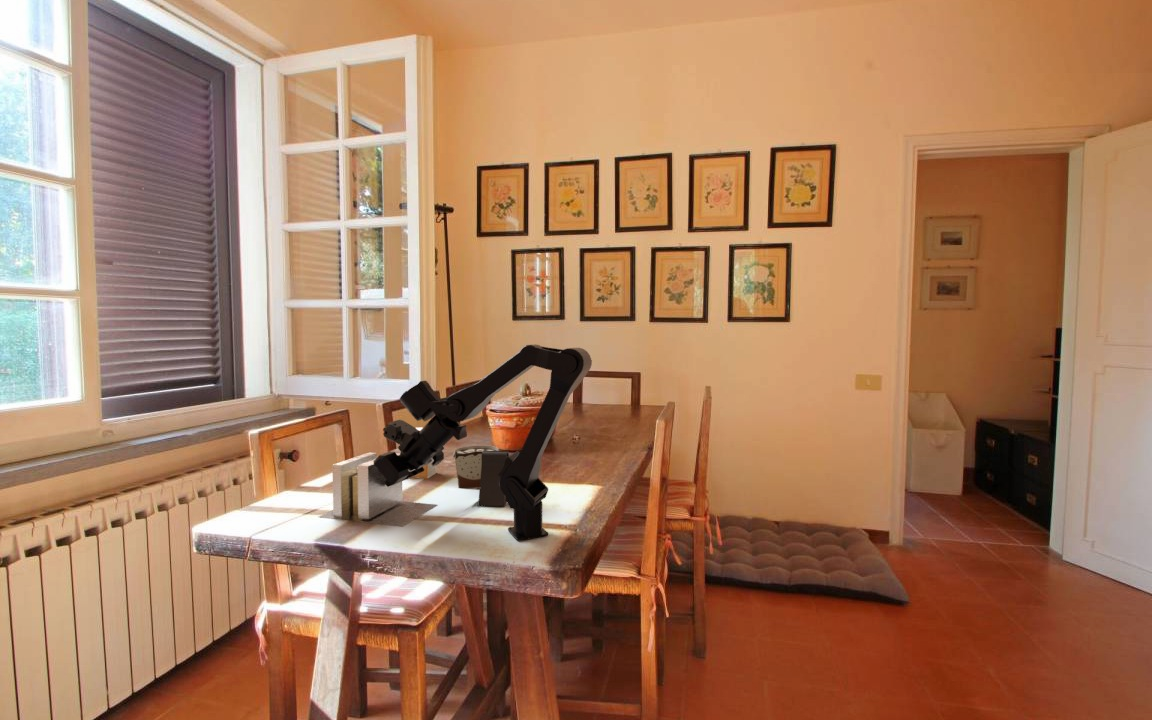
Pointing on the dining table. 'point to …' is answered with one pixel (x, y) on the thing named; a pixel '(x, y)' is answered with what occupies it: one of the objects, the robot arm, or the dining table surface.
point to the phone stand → (492, 479)
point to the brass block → (355, 494)
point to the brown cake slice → (470, 465)
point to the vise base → (390, 514)
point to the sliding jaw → (375, 491)
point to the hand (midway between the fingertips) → (387, 484)
